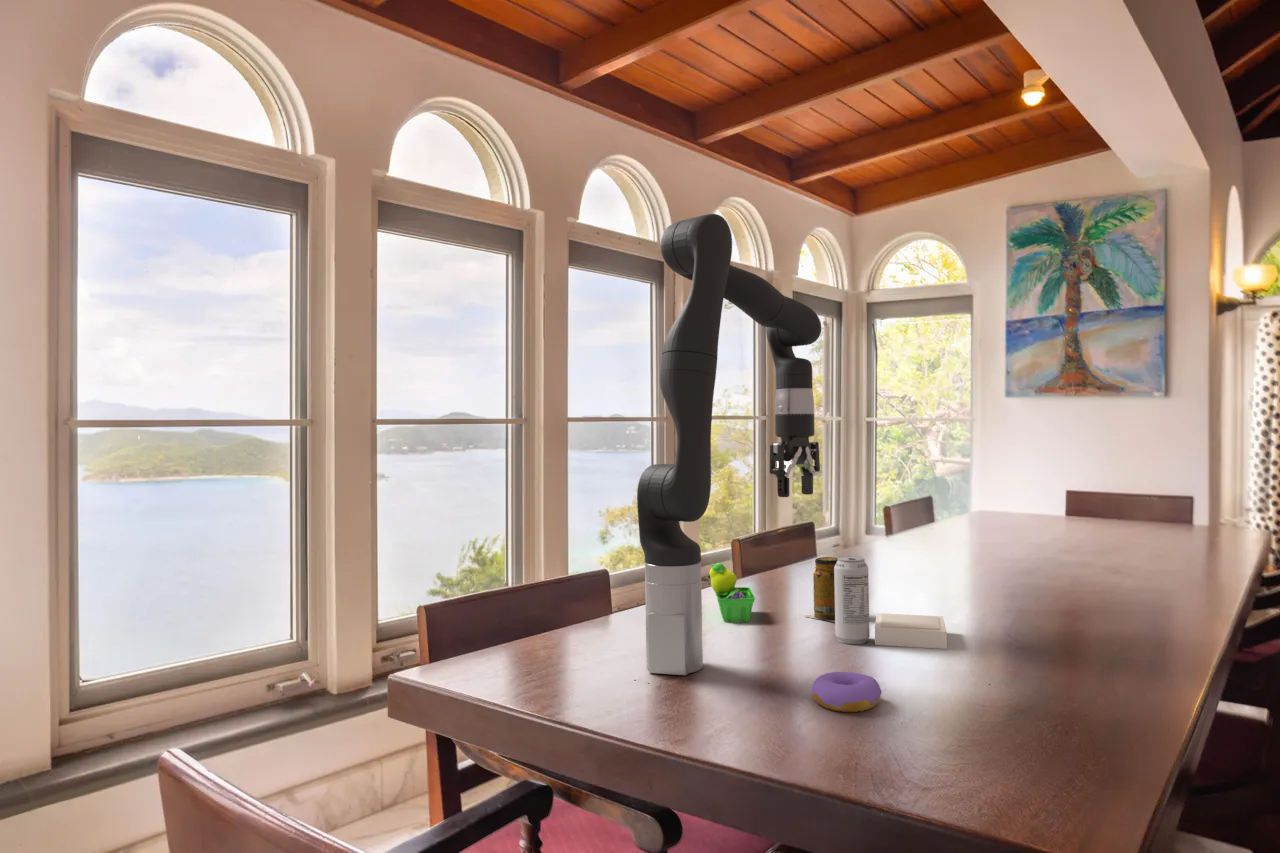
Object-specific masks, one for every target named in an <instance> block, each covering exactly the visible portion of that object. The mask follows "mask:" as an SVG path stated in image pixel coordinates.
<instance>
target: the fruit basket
mask: <svg viewBox="0 0 1280 853" xmlns="http://www.w3.org/2000/svg"><path fill="white" fill-rule="evenodd" d="M710 566H711V568H710V570H709V572H708V573H709V574H708V575H709V577H710V585H711V588H712V590H713V591H714V593H715V596H716V600H717V604H718V607H719V612H720V614H721V618H722V620H723V621H722V622H724V623H742V622H744V623H749V622H750V620H751V615H752V611H753V607H754V606H753V605H754V603H755V600H756V597H755V595H754V593H753V591H752V589H751V587H746V586H743V587H741V586H739V587H737V586H736V584H737V581H738V577H737V575H736V574H735V573H734V572H732V570H730V569H728V568H726V566H725V565H724V564H723V563H721V562H717V563H715V564H714V563H712V564H711V565H710Z"/></svg>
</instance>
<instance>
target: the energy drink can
mask: <svg viewBox="0 0 1280 853" xmlns="http://www.w3.org/2000/svg"><path fill="white" fill-rule="evenodd" d="M836 558H837V559H838V561H837V563H836V565H835V567H834V583H835V622H834V624H835V626H834V628H835V636H836V637H837V638H838V641H839V642H840V643H843V644H845V645H861V644H863V645H864V644H866V643H867V641H868V639H869V638H870V635H871V634H870V591H869V588H870V587H869V584H870V583H869V567H868V565H867V563H866V561H865V560H866V559H865V557H862V556H853V555H852V556H851V555H847V556H839V557H836Z"/></svg>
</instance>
